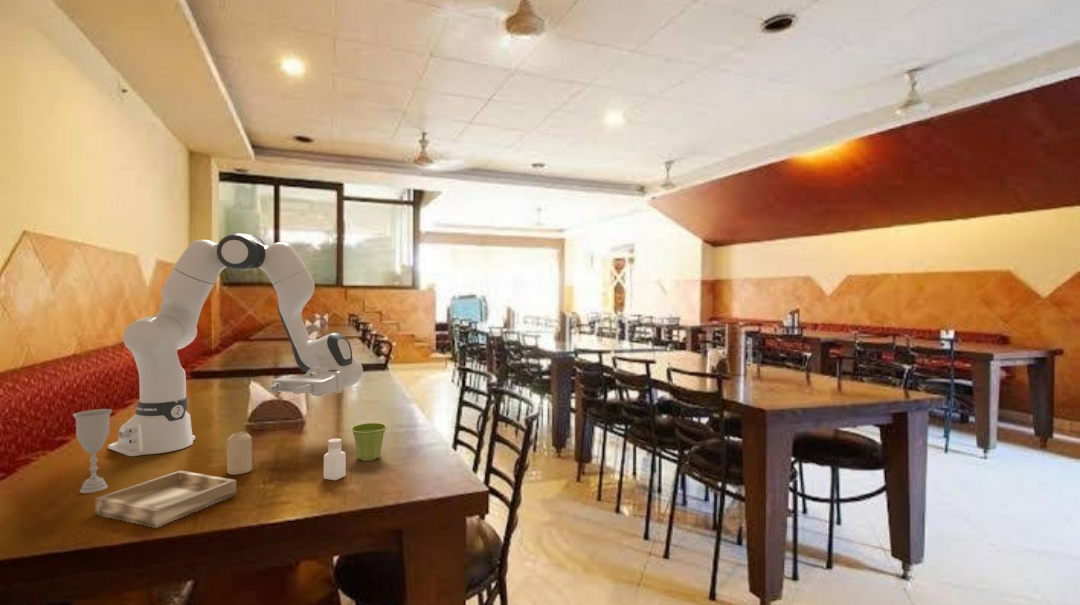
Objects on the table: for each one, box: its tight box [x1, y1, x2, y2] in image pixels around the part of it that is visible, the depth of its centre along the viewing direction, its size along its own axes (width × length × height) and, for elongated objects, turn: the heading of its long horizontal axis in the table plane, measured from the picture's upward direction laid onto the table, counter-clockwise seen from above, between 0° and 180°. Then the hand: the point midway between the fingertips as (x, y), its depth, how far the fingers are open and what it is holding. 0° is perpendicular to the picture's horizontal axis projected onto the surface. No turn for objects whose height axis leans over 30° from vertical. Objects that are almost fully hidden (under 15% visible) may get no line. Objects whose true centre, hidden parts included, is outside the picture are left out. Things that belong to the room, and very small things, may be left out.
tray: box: [94, 469, 237, 530], centre depth 115 cm, size 18×18×4 cm
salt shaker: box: [323, 438, 347, 481], centre depth 132 cm, size 4×4×10 cm
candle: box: [226, 431, 253, 476], centre depth 136 cm, size 6×6×10 cm
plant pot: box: [350, 422, 388, 462], centre depth 147 cm, size 9×9×9 cm
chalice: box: [72, 408, 113, 494], centre depth 123 cm, size 7×7×18 cm
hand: (282, 390), depth 148 cm, fingers open, 8 cm apart
